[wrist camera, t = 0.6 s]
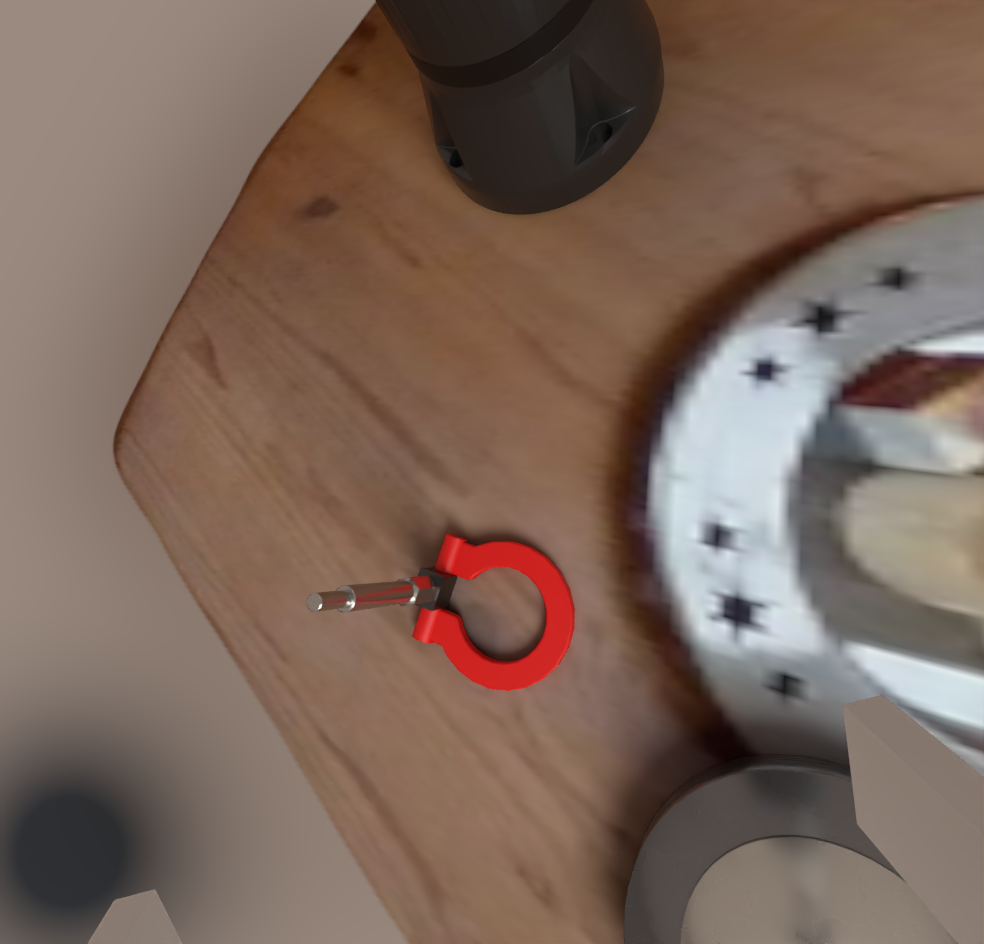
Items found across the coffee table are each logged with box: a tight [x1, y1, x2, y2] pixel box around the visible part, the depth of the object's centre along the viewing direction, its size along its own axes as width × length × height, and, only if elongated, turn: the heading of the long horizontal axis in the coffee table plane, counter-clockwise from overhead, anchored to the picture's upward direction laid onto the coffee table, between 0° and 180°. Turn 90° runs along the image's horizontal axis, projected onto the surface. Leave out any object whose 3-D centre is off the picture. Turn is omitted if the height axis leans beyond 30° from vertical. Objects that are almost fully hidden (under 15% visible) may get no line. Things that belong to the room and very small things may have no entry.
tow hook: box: [307, 533, 575, 691], centre depth 27 cm, size 8×13×9 cm
